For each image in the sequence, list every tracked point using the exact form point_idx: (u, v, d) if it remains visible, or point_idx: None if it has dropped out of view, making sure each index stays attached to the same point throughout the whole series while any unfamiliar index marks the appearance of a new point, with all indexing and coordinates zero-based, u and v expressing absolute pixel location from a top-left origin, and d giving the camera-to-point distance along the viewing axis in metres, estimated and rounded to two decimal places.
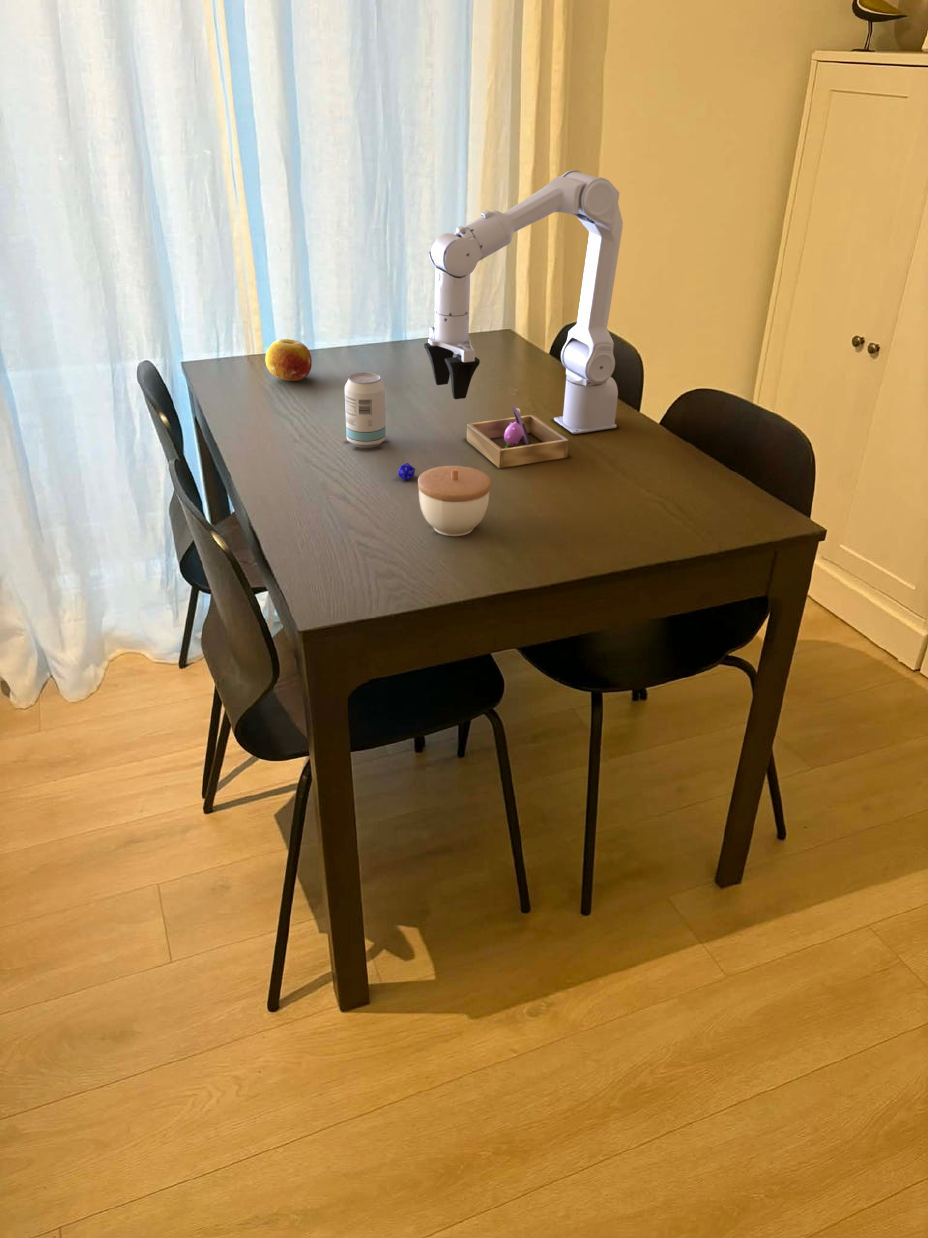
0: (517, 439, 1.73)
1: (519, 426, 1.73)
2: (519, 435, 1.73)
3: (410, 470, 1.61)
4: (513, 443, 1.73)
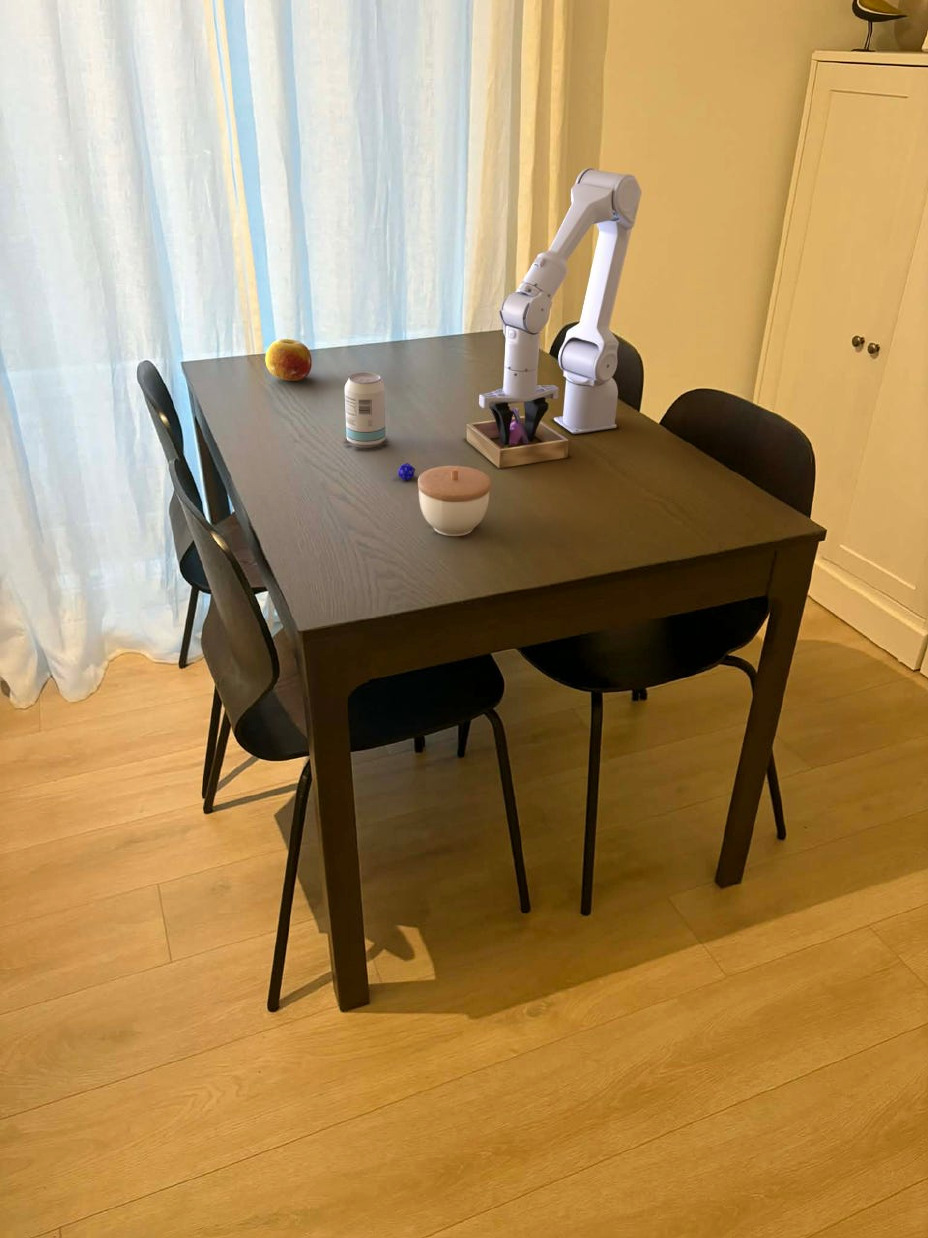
0: (516, 439, 1.73)
1: (518, 426, 1.73)
2: (518, 435, 1.73)
3: (410, 470, 1.61)
4: (512, 443, 1.73)
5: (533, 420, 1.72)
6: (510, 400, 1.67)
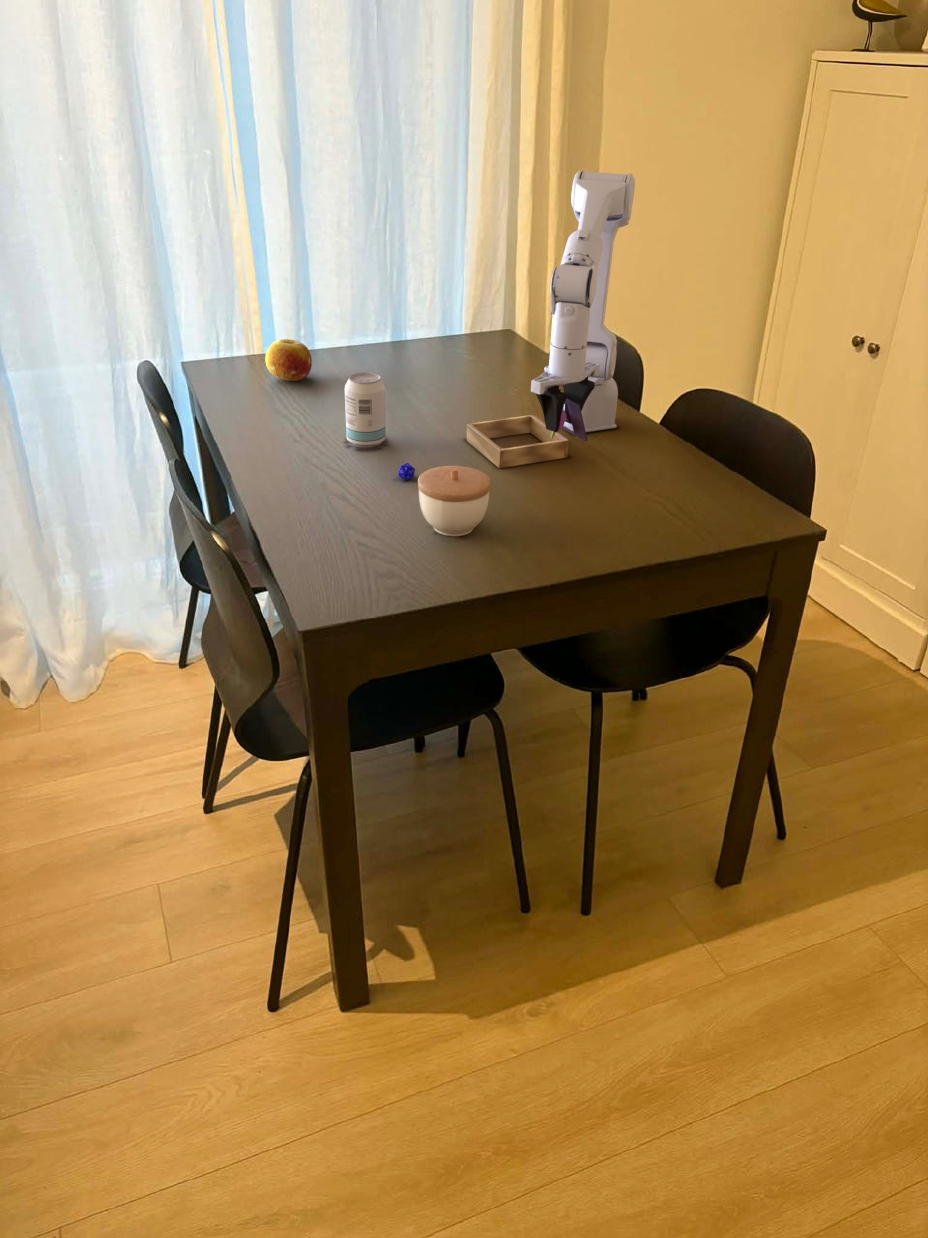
0: (563, 424, 1.61)
1: (562, 410, 1.61)
2: (564, 419, 1.61)
3: (410, 470, 1.61)
4: (559, 429, 1.61)
5: (579, 401, 1.60)
6: (564, 382, 1.54)
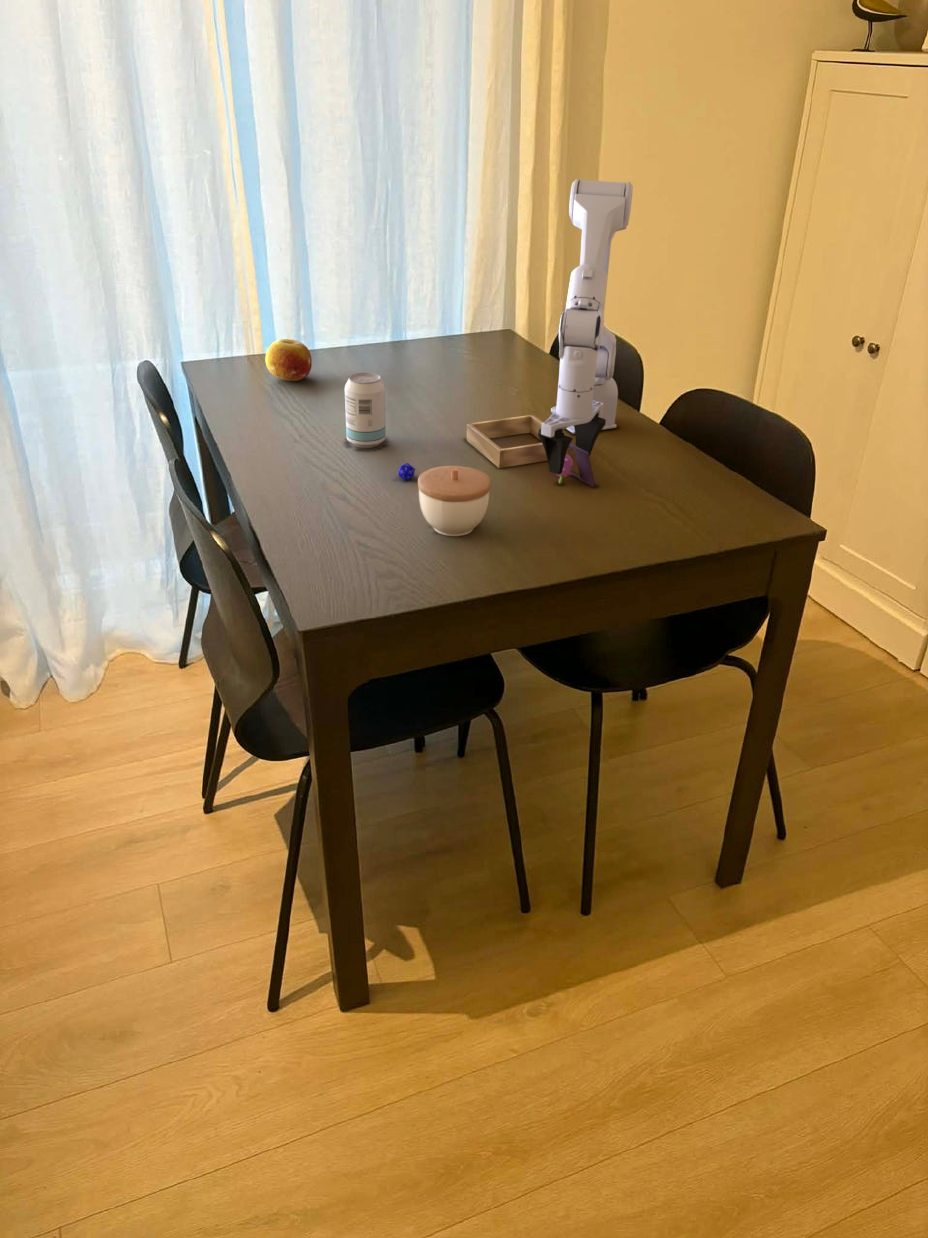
0: (569, 470, 1.63)
1: (569, 456, 1.62)
2: (571, 465, 1.63)
3: (410, 470, 1.61)
4: (567, 475, 1.62)
5: (591, 438, 1.62)
6: (574, 424, 1.55)
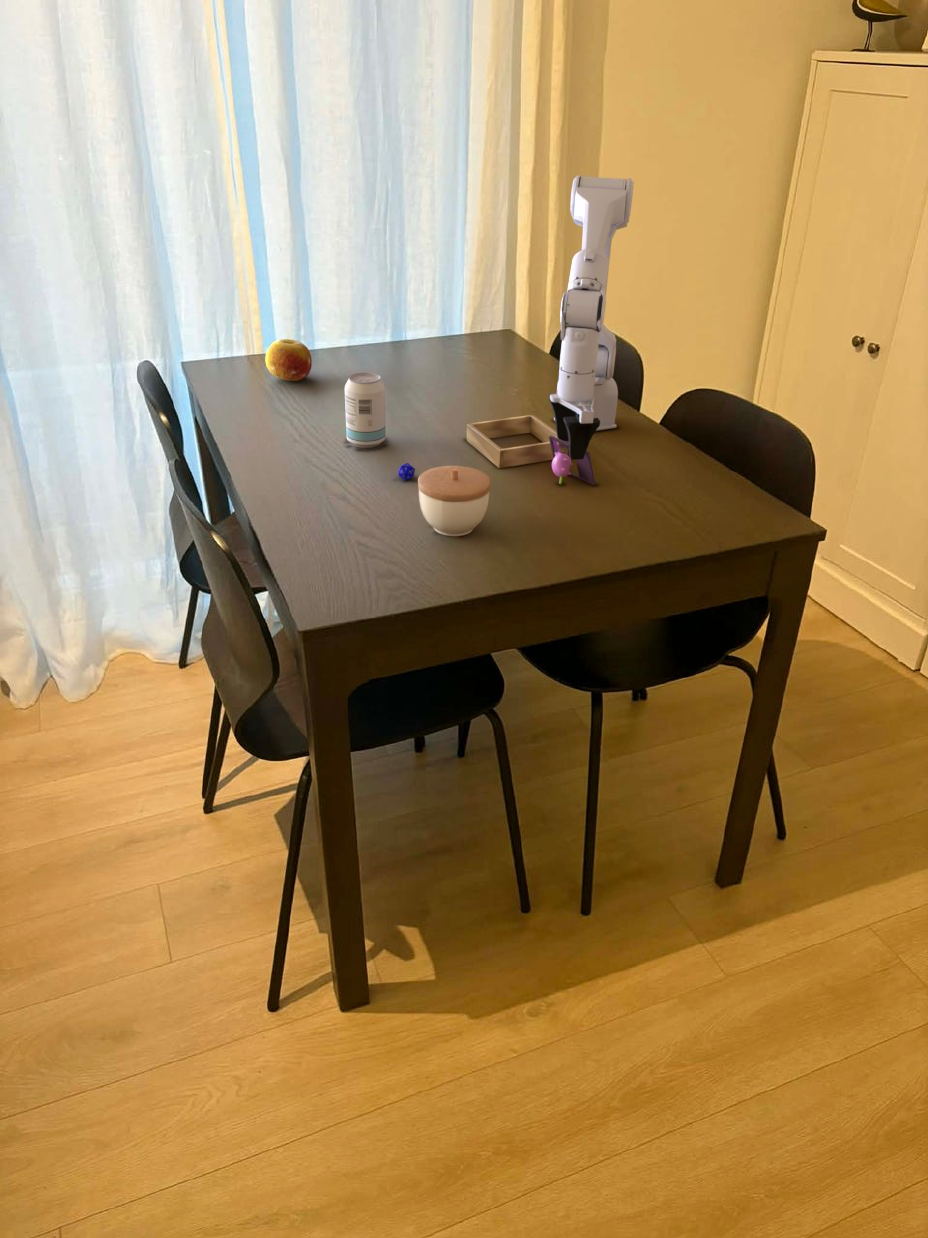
0: None
1: (567, 455, 1.62)
2: (569, 465, 1.63)
3: (410, 470, 1.61)
4: (566, 474, 1.62)
5: (575, 417, 1.62)
6: (593, 404, 1.55)
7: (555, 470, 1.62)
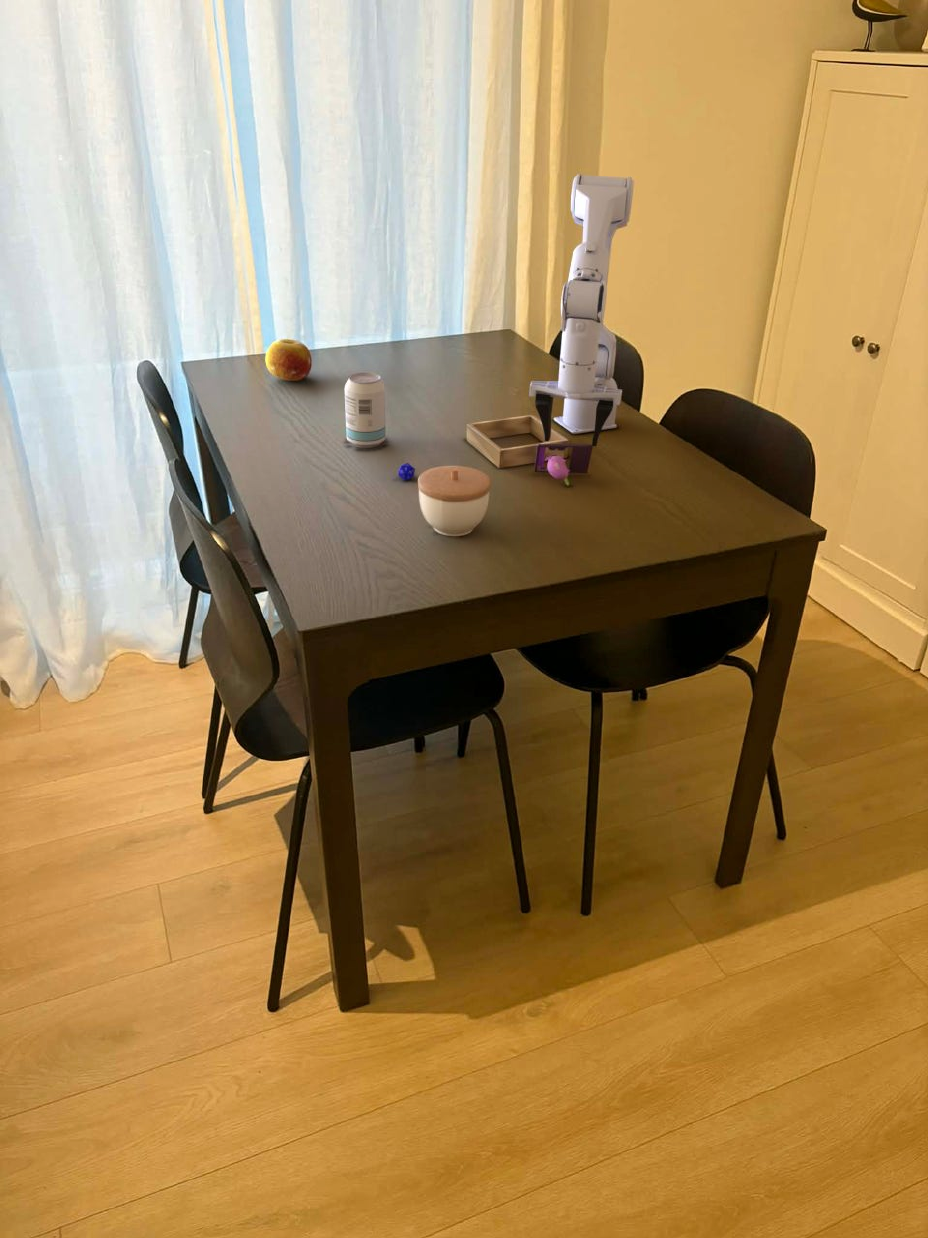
0: None
1: None
2: None
3: (410, 470, 1.61)
4: None
5: (551, 412, 1.60)
6: (594, 387, 1.57)
7: (560, 474, 1.61)
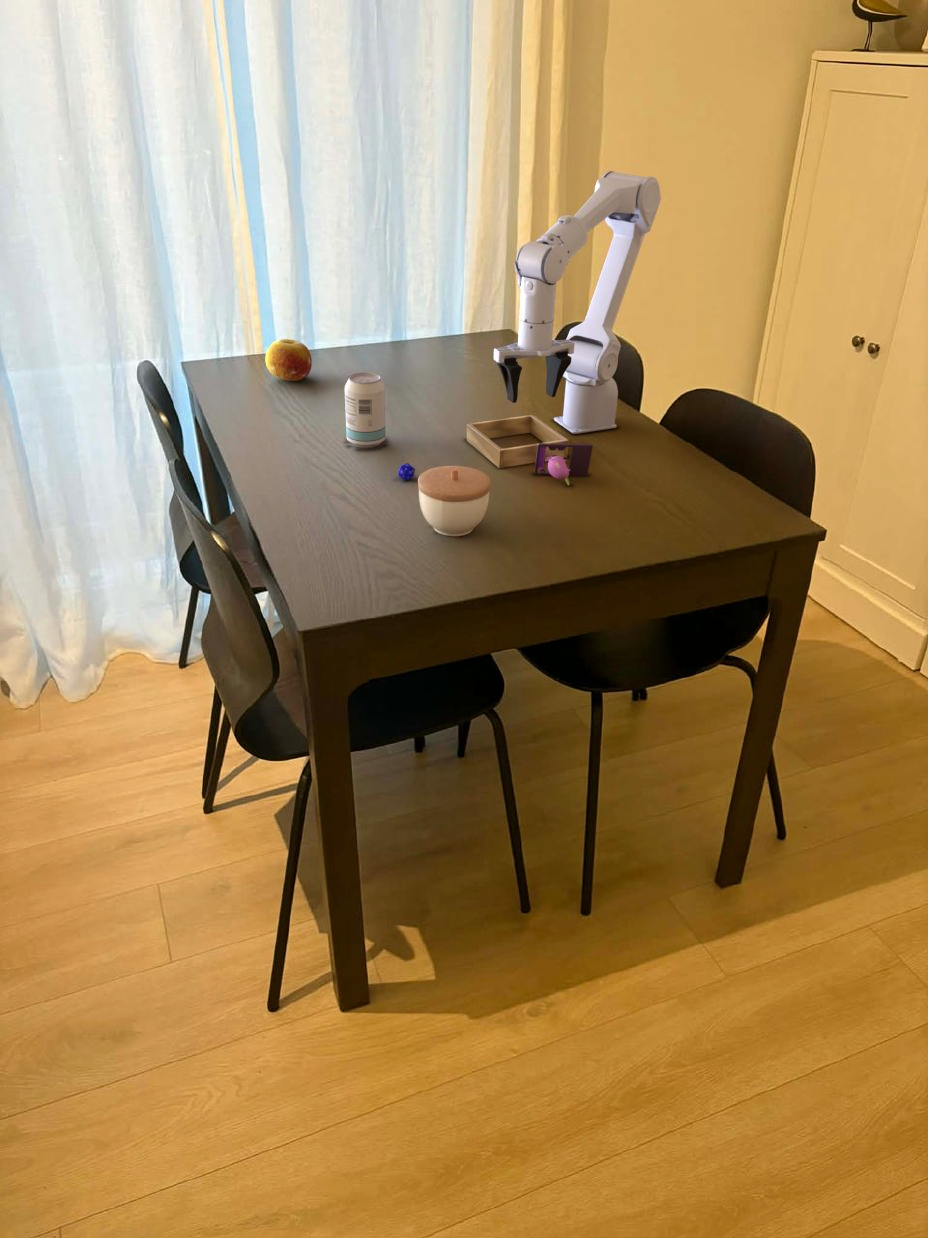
0: None
1: None
2: None
3: (410, 470, 1.61)
4: None
5: None
6: None
7: (561, 473, 1.61)
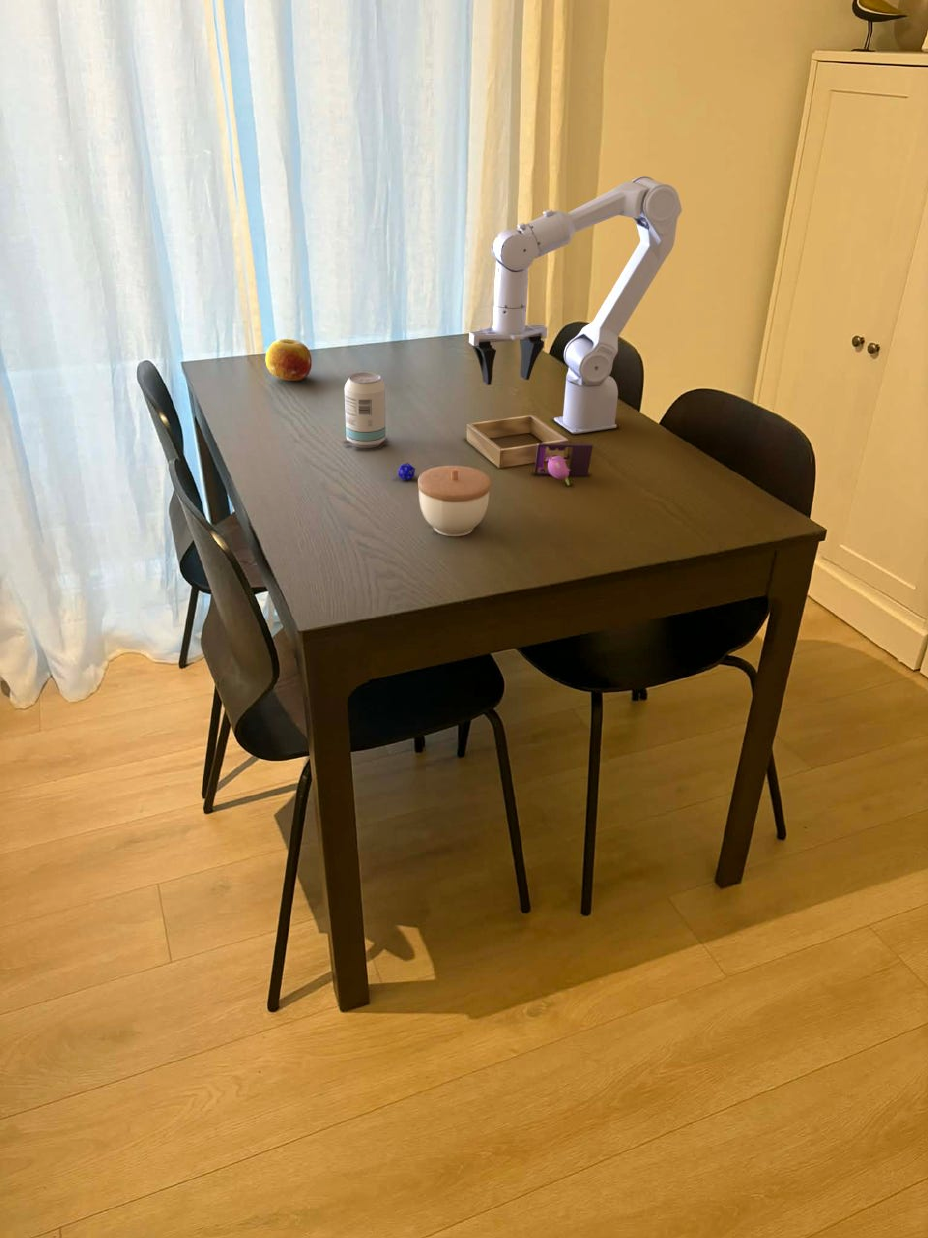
0: None
1: None
2: None
3: (410, 470, 1.61)
4: None
5: None
6: None
7: (561, 473, 1.61)
